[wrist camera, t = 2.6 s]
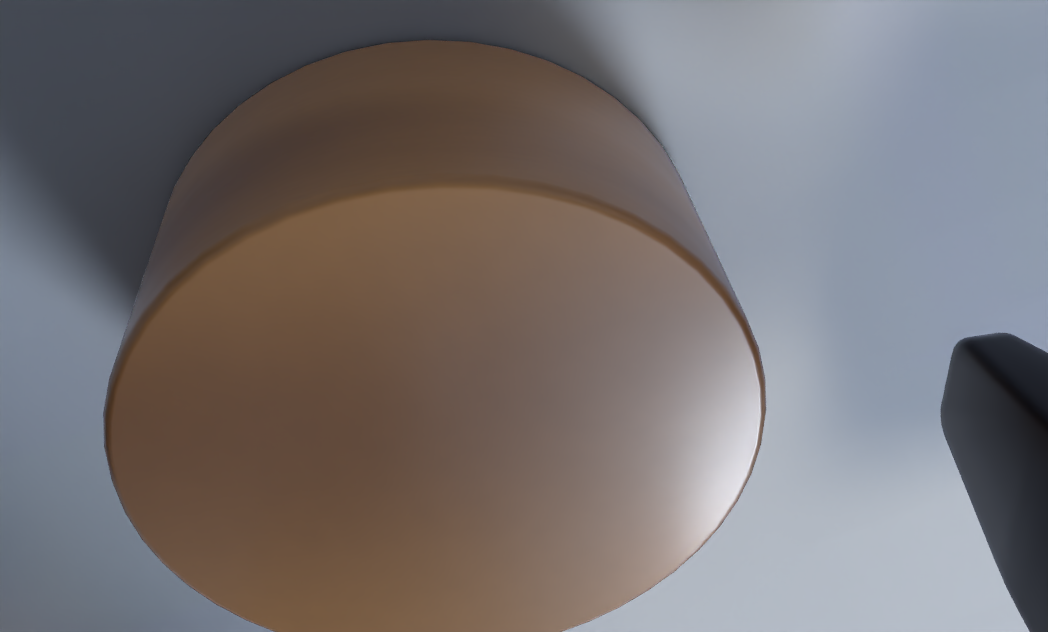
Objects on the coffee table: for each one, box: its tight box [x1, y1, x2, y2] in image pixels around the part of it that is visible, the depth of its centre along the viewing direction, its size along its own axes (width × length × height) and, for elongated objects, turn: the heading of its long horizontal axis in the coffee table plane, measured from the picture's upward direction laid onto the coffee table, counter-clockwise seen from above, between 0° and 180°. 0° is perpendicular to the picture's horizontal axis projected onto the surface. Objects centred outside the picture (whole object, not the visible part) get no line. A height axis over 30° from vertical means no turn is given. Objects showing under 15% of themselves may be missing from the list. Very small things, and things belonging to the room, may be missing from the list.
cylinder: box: [103, 40, 766, 632], centre depth 9 cm, size 6×6×2 cm
